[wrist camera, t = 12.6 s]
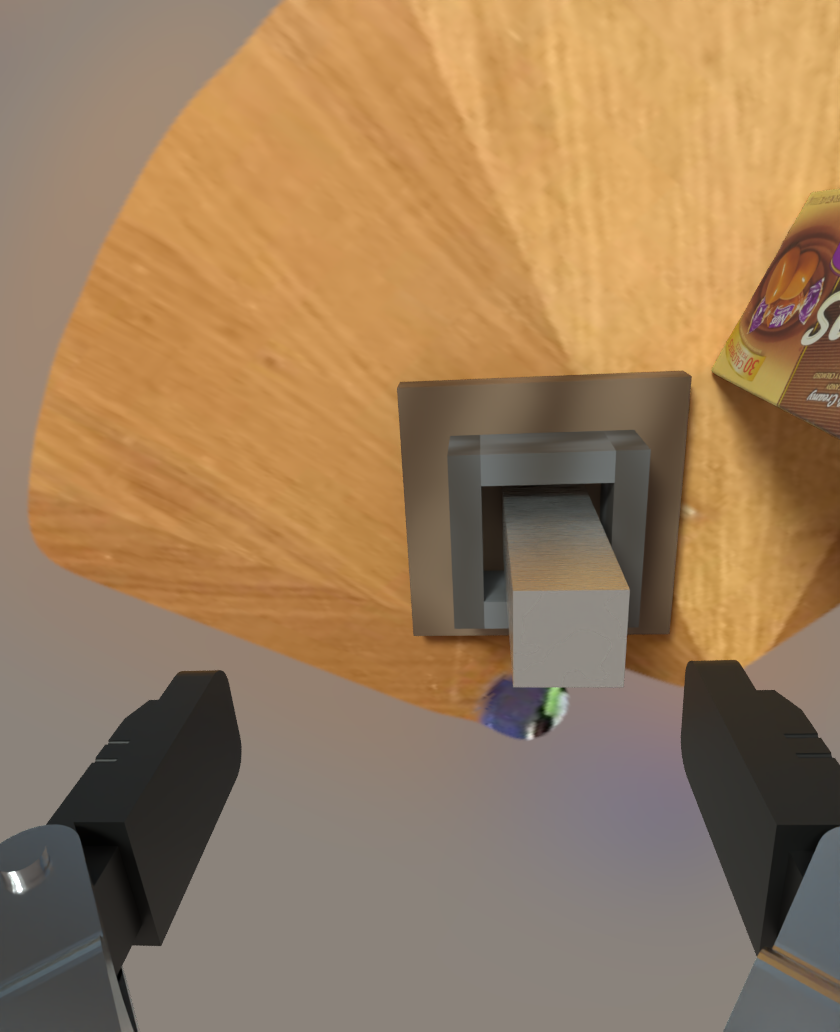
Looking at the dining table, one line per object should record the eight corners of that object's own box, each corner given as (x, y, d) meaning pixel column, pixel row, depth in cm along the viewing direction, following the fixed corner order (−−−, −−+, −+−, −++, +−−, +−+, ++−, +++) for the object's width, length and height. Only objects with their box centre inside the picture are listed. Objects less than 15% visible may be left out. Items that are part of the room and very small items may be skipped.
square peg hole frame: (683, 370, 34) (714, 391, 30) (662, 620, 39) (687, 670, 35) (400, 382, 36) (388, 403, 31) (415, 622, 41) (407, 671, 36)
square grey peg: (582, 479, 35) (629, 589, 24) (579, 551, 37) (623, 687, 26) (502, 481, 36) (512, 590, 24) (502, 552, 37) (513, 687, 26)
